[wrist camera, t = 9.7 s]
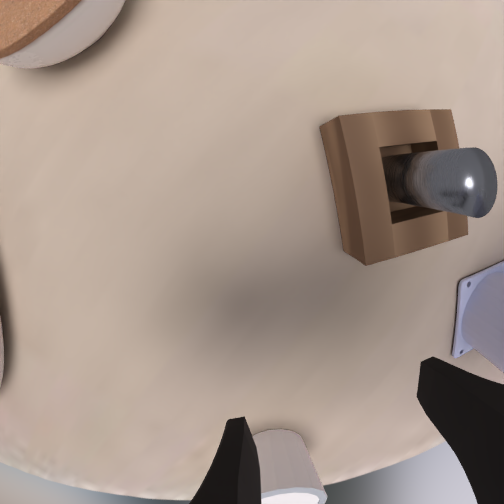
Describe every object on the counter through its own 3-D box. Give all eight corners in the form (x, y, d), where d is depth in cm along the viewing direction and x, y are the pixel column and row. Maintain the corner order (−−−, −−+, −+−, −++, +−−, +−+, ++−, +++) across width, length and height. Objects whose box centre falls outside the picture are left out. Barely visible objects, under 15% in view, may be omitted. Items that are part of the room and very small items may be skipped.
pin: (405, 152, 17) (491, 145, 9) (413, 196, 18) (499, 210, 10) (367, 159, 17) (449, 151, 9) (377, 206, 18) (459, 224, 10)
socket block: (421, 116, 17) (450, 109, 14) (437, 225, 19) (468, 234, 15) (319, 126, 17) (338, 115, 13) (343, 250, 19) (365, 265, 15)
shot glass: (320, 424, 23) (341, 484, 16) (298, 467, 24) (310, 520, 17) (242, 421, 22) (247, 488, 15) (230, 465, 23) (232, 522, 16)
